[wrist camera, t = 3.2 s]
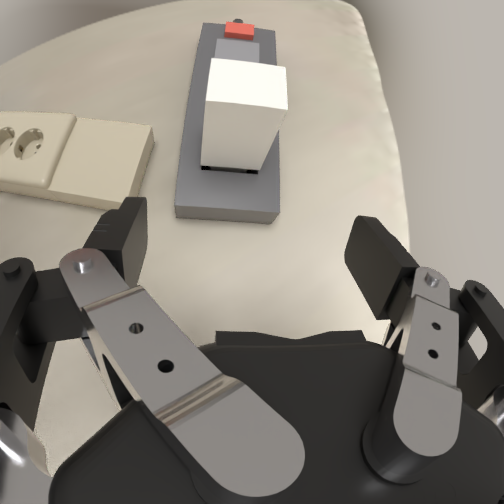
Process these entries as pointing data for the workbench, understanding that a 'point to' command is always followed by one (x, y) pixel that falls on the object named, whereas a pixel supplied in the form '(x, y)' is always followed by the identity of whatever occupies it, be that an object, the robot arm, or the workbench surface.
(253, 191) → the power strip
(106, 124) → the electrical outlet
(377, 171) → the workbench surface
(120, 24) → the workbench surface
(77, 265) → the robot arm
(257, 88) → the block
